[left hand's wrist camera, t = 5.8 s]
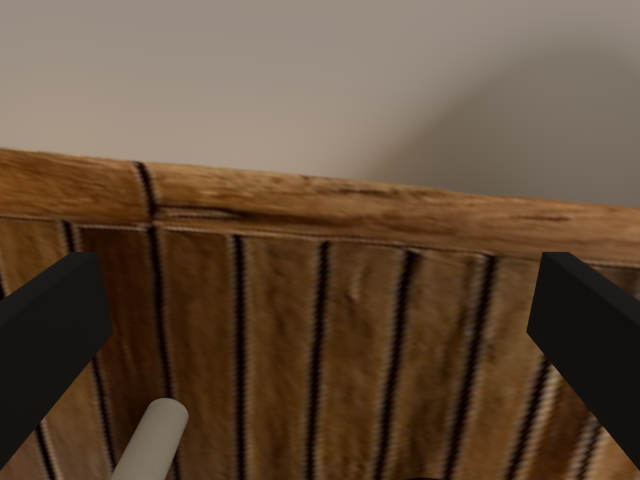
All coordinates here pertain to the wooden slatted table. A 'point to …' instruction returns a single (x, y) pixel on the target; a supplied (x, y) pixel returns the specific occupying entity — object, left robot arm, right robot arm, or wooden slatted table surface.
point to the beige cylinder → (153, 442)
